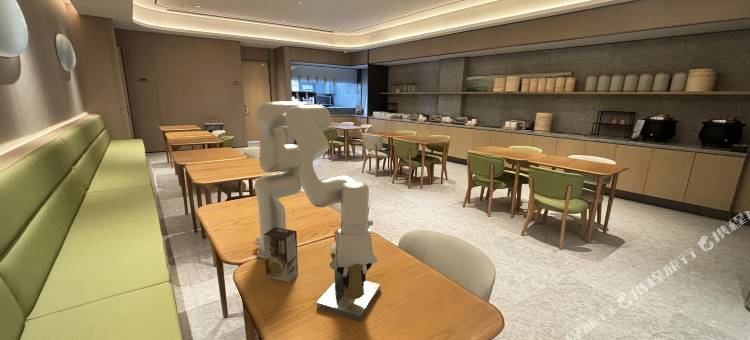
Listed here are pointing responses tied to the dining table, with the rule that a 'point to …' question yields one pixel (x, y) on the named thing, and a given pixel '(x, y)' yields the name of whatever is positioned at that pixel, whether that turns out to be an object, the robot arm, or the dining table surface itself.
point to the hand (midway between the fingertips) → (353, 284)
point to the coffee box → (281, 254)
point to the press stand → (344, 306)
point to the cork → (354, 283)
